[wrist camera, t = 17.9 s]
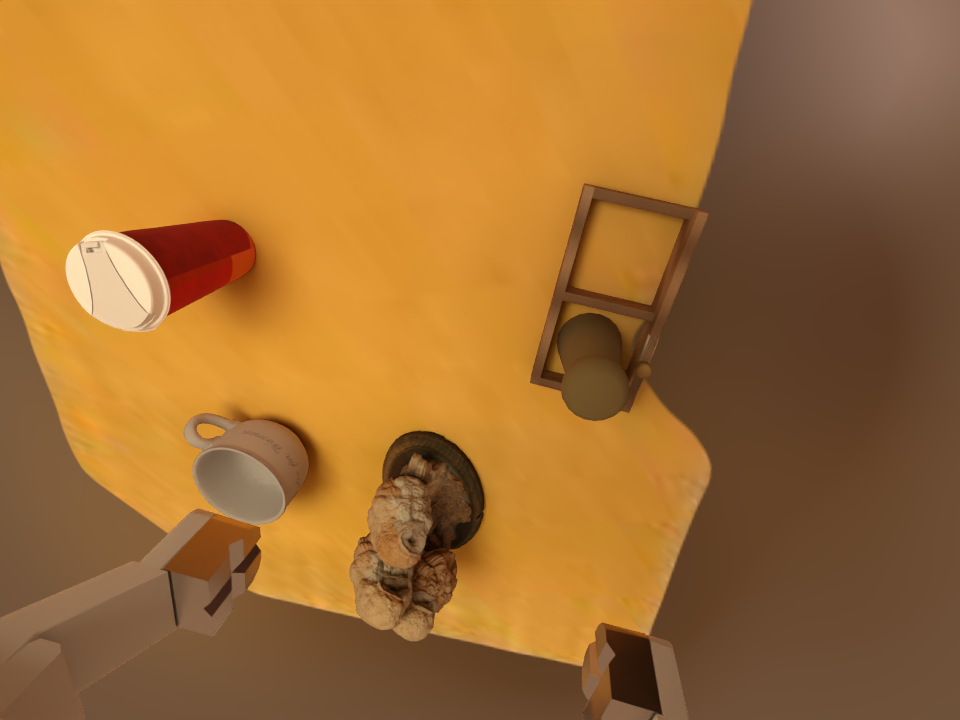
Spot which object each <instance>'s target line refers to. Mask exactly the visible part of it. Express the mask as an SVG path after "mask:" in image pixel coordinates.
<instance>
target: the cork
mask: <svg viewBox="0 0 960 720" xmlns="http://www.w3.org/2000/svg"><path fill="white" fill-rule="evenodd" d="M557 347H558V352H559V355H560V358H561V362H562V365H563V368H564V371H565V374H564V375H563V379H562V384H561V392H562V398H563V400H564V401H565V403H566V405H567V407H568V409H569V410H571V411H572V412H573V413H574V414H575V415H577V416H579V417H581V418H583V419H587V420H593V421H598V420H605V419H607V418H610V417H613V416H614V415H616V414H617V413H618V412H620V411H621V410H622V408H623V407H624V406H625V404H626V403H627V399H628V396H629V392H630V387H629V380H628V377H627V375H626V373H625V371H624V369H623V368H622V367H621V366H620V360H621V335H620V332H619V330H618V328H617V326H616V325H615V324H614V323H613V322H612V321H611V320H610V319H609V318H607V317H605V316H603V315H601V314H594V313H586V314H579V315H577V316H575V317H573V318H571V319H570V320H569V321H567V322H566V323H565V324H564V325H563V327H562V328H561V330H560V332H559V334H558V339H557Z"/></svg>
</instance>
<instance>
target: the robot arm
mask: <svg viewBox="0 0 960 720" xmlns="http://www.w3.org/2000/svg"><path fill="white" fill-rule="evenodd" d="M260 538H261V534H260V527H257V526H254V525H251V524H248V523H245V522H241V521H238V520H235V519H232V518H228V517H225V516H222V515H219V514H216V513H212V512H209V511H205V510H202V509H196V510H194V511H192V512H190V513H189V514H188V515H187V516H186V517H185V518H184V519H183V520H182V521H181V522H180V523H179V524H178V525H177V526H176V527H175V528H174V529H173V530H172V531H171V532H170V533H169V534H167V536H165V537H164V538H163V540H162V541H160V542H159V543H158V544H157V545H156V546H155V547H154V548H153V549H152V550H151V551H150V552H149V553H148V554H147V555H146V556H145V557H144V558H143V559H142V560H141V561H140V562H139V563H137V562H134V561H132V562H130V563H127V564H125V565H122V566H120V567H118V568H116V569H113V570H111V571H109V572H106V573H104V574H101V575H99V576H97V577H94V578H92V579H90V580H87V581H85V582H83V583H80V584H78V585H76V586H73V587H71V588H69V589H66V590H64V591H61V592H59V593H57V594H54V595H52V596H50V597H48V598H45V599H43V600H40V601H38V602H36V603H33V604H31V605H29V606H26V607H24V608H22V609H19V610H17V611H15V612H12V613H10V614H8V615H5V616H3V617H1V618H0V720H84V711H83V708H82V705H81V702H80V699H79V697H78V694H77V693H78V692H80V691H82V690H83V689H85V688H86V687H88V686H90V685H91V684H93V683H94V682H96V681H97V680H99V679H100V678H102V677H104V676H105V675H107V674H108V673H110V672H111V671H113V670H114V669H116V668H118V667H119V666H121V665H122V664H123V663H125V662H126V661H128V660H130V659H131V658H133V657H135V656H136V655H138V654H139V653H141V652H142V651H144V650H145V649H147V648H148V647H150V646H151V645H153V644H155V643H156V642H158V641H159V640H161V639H162V638H164V637H165V636H167V635H169V634H170V633H172V632H173V631H175V630H176V627H179V628H183V629H187V630H191V631H194V632H198V633H202V634H206V635H209V636H214V635H215V634H216V632H217V631H218V629H219V628H220V627H221V625H222V624H223V622H224V621H225V620H226V618H227V617H228V615H229V614H230V613H231V611H232V610H233V598H235V597H237V596H239V595H240V594H242V593H244V592H246V590H247V589H248V587H249V586H250V584H251V583H252V581H253V580H254V577H255V575H256V573H257V571H258V569H259V565H260V561H261V550H260V549H259V547H258V546H257V545H256V543H257V542H258V540H259V539H260ZM595 636H596V641H595V642H593V643H591V644H589V646H588V648H587V651H586V653H585V657H584V662H583V668H582V690H583V692H584V694H585V696H586V698H587V699H588V703H587V705H586V707H585V709H584V711H583V720H689V718H688V713H687V709H686V704H685V700H684V696H683V691H682V687H681V682H680V677H679V673H678V669H677V664H676V660H675V656H674V651H673V647H672V645H671V643H670V642H669V641H667V640H663V639H660V638H656V637H652V636H649V635H645V634H644V633H640V632H636V631H632V630H629V629H625V628H621V627H617V626H614V625H610V624H606V623H601V624H599V626H598V628H597V630H596V631H595Z"/></svg>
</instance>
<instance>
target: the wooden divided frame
mask: <svg viewBox="0 0 960 720" xmlns="http://www.w3.org/2000/svg"><path fill="white" fill-rule="evenodd" d="M592 198H594V199H598V200H603V201H607V202H612V203H616V204H621V205H625V206H630V207H634V208H639V209H643V210H648V211H652V212H657V213H661V214H665V215H670V216H674V217H679V218H683V219H684V222H683V224H682V227H681V229H680V232H679V235H678V237H677V240H676V243H675V245H674V248H673V250H672V253H671V256H670V258H669V261H668V264H667V266H666V269H665V272H664V274H663V277H662V279H661V282H660V285H659V287H658V290H657V293H656V295H655V298H654V300H653V303H652V306H649V305H645V304H641V303H637V302H632V301H628V300H624V299H620V298H616V297H611V296H607V295H603V294H599V293H594V292H590V291H586V290H582V289H577V288H573V287H569V286H567V283H568V280H569V276H570V273H571V269H572V266H573V262H574V259H575V255H576V252H577V249H578V245H579V242H580V238H581V235H582V231H583V228H584V224H585V221H586V217H587V214H588V210H589V207H590V203H591V200H592ZM708 215H709V214H708V213H706V212H704V211H702V210H700V209H697V208H692V207H688V206H683V205H679V204H674V203H670V202H665V201H661V200H656V199H652V198H647V197H643V196H638V195H634V194H629V193H625V192H620V191H616V190H611V189H607V188H602V187H598V186H593V185H588V184H584V186H583V189H582V193H581V197H580V200H579V204H578V207H577V211H576V215H575V218H574V222H573V225H572V229H571V233H570V236H569V240H568V244H567V247H566V251H565V254H564V258H563V262H562V265H561V269H560V272H559V276H558V280H557V283H556V287H555V290H554V294H553V298H552V301H551V305H550V309H549V312H548V316H547V319H546V323H545V327H544V330H543V334H542V337H541V341H540V345H539V348H538V352H537V355H536V359H535V363H534V366H533V370H532V374H531V381H530V383H532V384H536V385H540V386H544V387H548V388H552V389H556V390H560V391H561V384H562V379H563V375H564V374H560V373H556V372H552V371H548V370H544V369H543V367H544V363H545V360H546V356H547V353H548V349H549V346H550V342H551V339H552V335H553V332H554V328H555V325H556V321H557V318H558V314H559V311H560V308H561V304H562V301H568V302H572V303H576V304H580V305H584V306H589V307H593V308H597V309H601V310H605V311H610V312H614V313H618V314H622V315H626V316H631V317H635V318H639V319H643V320H646V321H645V324H644V327H643V329H642V332H641V335H640V337H639V340H638V343H637V345H636V348H635V350H634V353H633V356H632V358H631V361H630V364H629V366H628V369H627V371H626V375H627V377H628V380H629V387H630V392H629V396H628V399H627V403H626V404H625V406H624V407H623V408H622V410H621V411H624V412H628V413H629V412H630V409H631V407H632V404H633V402H634V399H635V397H636V395H637V393H638V390H639V388H640V385H641V383H642V380H643V378H648V377H649V376H650V375H651V368H650V366H649V363H650V360H651V358H652V355H653V353H654V350H655V348H656V345H657V343H658V340H659V337H660V335H661V332H662V330H663V327H664V325H665V322H666V320H667V317H668V315H669V312H670V310H671V307H672V305H673V302H674V300H675V297H676V295H677V292H678V290H679V287H680V285H681V282H682V280H683V277H684V275H685V272H686V270H687V268H688V265H689V262H690V260H691V258H692V255H693V252H694V250H695V247H696V245H697V243H698V240H699V238H700V235H701V233H702V230H703V228H704V225H705V223H706V220H707V218H708Z"/></svg>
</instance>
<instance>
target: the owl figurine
mask: <svg viewBox="0 0 960 720" xmlns="http://www.w3.org/2000/svg"><path fill="white" fill-rule="evenodd" d="M382 474H383V475H382V478H383V483H382V484H381V485H380V487H379V488H378V490H377V491H376V496H375V497H374V498H373V501H372V507H371V508H370V509H369V511H368V517H367V522H368V524H369V529H370V533H369V534H368V535H367V537H362V538H360V539H359V541H358V546H357V548H356V550H355V553H354V561H353V563H352V564H351V566H350V578H351V581H352V583H353V584H354V588H355V595H356V600H355V603H356V612H357V614H358V615H359V616H360V617H361V618H362V620H364V621H365V622H366V623H367V624H370V625H371V626H373V627H375V628H377V629H380V630H387V629H392V628H393V630H394V631H395V632H396V633H397V634H398V635H401V636H402V637H403V638H404V639H406V640H409V641H418V640H421V639H423V638H425V637H426V636H427V634H428V633H429V632H430V631H431V629H432V628H433V625H434V618H435V612H439V611H440V609H442V608H443V606H444V605H445V604H446V603H448V602H449V601H450V599H451V597H452V592H453V591H454V588H455V587H456V584H457V578H456V573H457V564H456V560H455V559H454V558H455V554H454V553H452V552H449V550H450V549H456V548H459V547H461V546H463V545H464V544H466V543H467V542H468V541H469V540H471V539H472V538H473V537H474V535H475V534H476V532H477V531H478V528H479V526H480V524H481V521H482V517H483V513H482V511H483V509H484V498H483V491H482V488H481V484H480V481H479V477H478V476H477V474H476V471H475V469H474V468H473V466H472V464H471V462H470V461H469V459H468V458H467V457H466V455H465V454H464V453H463V452H462V451H461V450H460V449H459V448H458V447H457V446H456V445H455V444H453V443H451V442H449V441H445V440H444V437H443V436H440V435H439V434H435V433H432V432H421V431H417V432H410V433H406V434H404V435H402V436H401V437H399V438H398V439H396V440H395V442H394V443H393V444H392V445H391V447H390V448H389V450H388V452H387V454H386V457H385V460H384V464H383V473H382ZM480 514H481V515H480ZM479 515H480V517H479V518H478V519H476V518H477V516H479Z"/></svg>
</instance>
